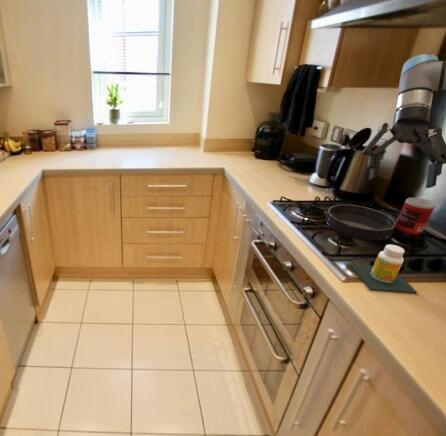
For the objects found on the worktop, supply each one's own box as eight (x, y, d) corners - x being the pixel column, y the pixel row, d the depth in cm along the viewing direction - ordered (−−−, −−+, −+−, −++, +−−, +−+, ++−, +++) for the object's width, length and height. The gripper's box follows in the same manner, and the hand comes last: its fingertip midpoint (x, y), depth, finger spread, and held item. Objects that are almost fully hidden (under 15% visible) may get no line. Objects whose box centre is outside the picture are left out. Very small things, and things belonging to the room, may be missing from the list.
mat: (391, 268, 93) (391, 267, 93) (416, 294, 83) (417, 292, 83) (350, 266, 94) (351, 264, 94) (370, 290, 85) (370, 288, 85)
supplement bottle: (368, 277, 89) (380, 248, 84) (372, 269, 92) (384, 240, 87) (391, 286, 85) (406, 256, 81) (395, 277, 89) (409, 248, 84)
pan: (372, 215, 123) (376, 205, 121) (405, 242, 105) (410, 232, 103) (316, 212, 126) (319, 203, 124) (339, 238, 108) (343, 228, 106)
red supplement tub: (420, 228, 113) (433, 200, 108) (423, 237, 107) (437, 209, 102) (393, 222, 117) (405, 195, 112) (394, 231, 111) (407, 203, 106)
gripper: (456, 121, 89) (446, 193, 88) (355, 112, 97) (344, 179, 95) (478, 108, 82) (467, 186, 81) (367, 100, 90) (355, 172, 88)
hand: (400, 182), depth 88 cm, fingers open, 13 cm apart
